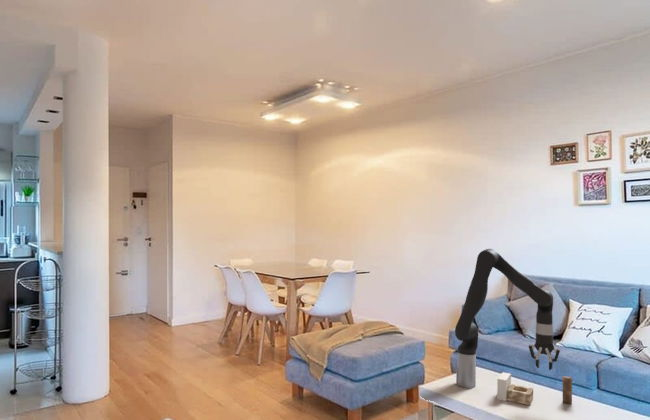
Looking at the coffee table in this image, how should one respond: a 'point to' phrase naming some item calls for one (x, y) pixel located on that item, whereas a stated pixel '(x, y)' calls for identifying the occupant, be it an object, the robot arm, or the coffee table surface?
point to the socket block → (520, 394)
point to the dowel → (567, 390)
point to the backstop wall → (503, 386)
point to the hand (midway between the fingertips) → (544, 368)
